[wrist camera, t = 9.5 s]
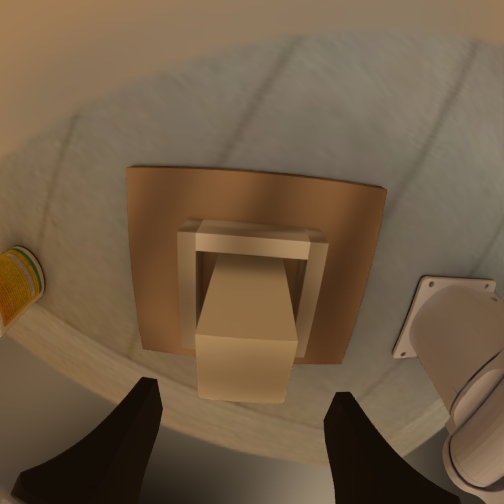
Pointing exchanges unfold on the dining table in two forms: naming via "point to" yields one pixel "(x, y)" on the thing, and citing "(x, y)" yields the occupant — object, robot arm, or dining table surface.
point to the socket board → (250, 248)
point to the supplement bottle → (18, 285)
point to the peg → (246, 332)
